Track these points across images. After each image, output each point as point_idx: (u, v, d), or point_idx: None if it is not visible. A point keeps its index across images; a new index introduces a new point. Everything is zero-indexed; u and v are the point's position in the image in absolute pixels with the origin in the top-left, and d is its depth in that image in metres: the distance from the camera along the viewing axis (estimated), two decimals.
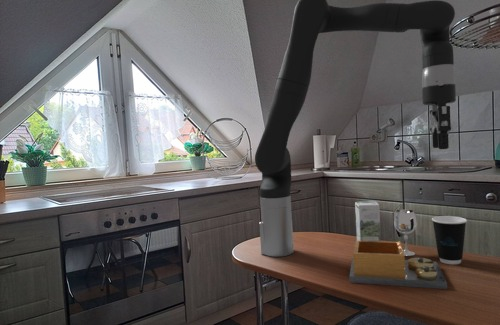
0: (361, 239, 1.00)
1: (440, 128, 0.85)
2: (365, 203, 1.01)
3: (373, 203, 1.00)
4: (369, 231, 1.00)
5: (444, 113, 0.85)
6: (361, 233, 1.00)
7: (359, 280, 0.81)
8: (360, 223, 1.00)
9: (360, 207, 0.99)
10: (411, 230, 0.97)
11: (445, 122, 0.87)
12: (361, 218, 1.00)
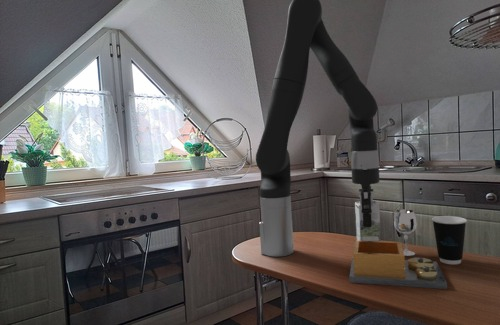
0: (361, 239, 1.00)
1: (362, 211, 0.96)
2: None
3: (373, 203, 1.00)
4: (369, 231, 1.00)
5: (366, 198, 0.96)
6: (361, 233, 1.00)
7: (359, 280, 0.81)
8: (360, 223, 1.00)
9: (360, 207, 1.00)
10: (411, 230, 0.97)
11: None
12: (361, 218, 1.00)
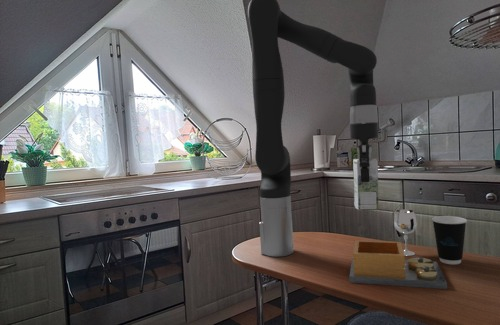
0: (359, 194, 0.99)
1: (360, 164, 0.96)
2: None
3: (371, 159, 1.00)
4: (367, 187, 0.99)
5: (364, 152, 0.95)
6: (359, 188, 0.99)
7: (359, 280, 0.81)
8: (358, 178, 0.99)
9: (358, 162, 0.99)
10: (411, 230, 0.97)
11: (367, 158, 0.98)
12: (359, 173, 0.99)
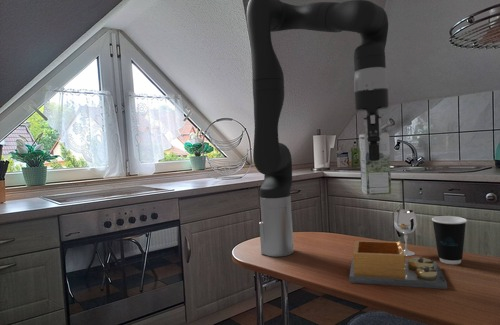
0: (367, 176, 0.83)
1: (369, 138, 0.79)
2: None
3: (381, 133, 0.83)
4: (377, 166, 0.82)
5: (373, 123, 0.78)
6: (367, 168, 0.83)
7: (359, 280, 0.81)
8: (366, 156, 0.83)
9: (366, 137, 0.82)
10: (411, 230, 0.97)
11: (376, 131, 0.81)
12: (367, 150, 0.82)
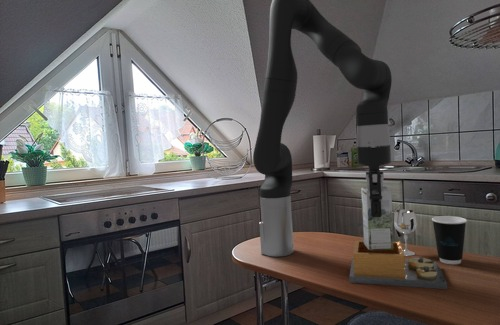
0: (369, 232, 0.83)
1: (371, 197, 0.79)
2: None
3: (383, 188, 0.83)
4: (379, 222, 0.82)
5: (375, 182, 0.79)
6: (369, 224, 0.83)
7: (359, 280, 0.81)
8: (368, 212, 0.83)
9: (368, 193, 0.82)
10: (411, 230, 0.97)
11: (378, 188, 0.81)
12: (369, 206, 0.83)
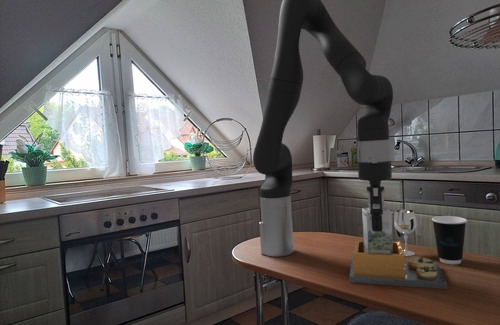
0: None
1: (371, 211, 0.79)
2: None
3: (384, 210, 0.83)
4: (379, 244, 0.82)
5: (375, 195, 0.78)
6: (369, 246, 0.83)
7: (359, 280, 0.81)
8: (368, 234, 0.83)
9: (368, 215, 0.82)
10: (411, 230, 0.97)
11: (379, 202, 0.81)
12: (369, 228, 0.83)
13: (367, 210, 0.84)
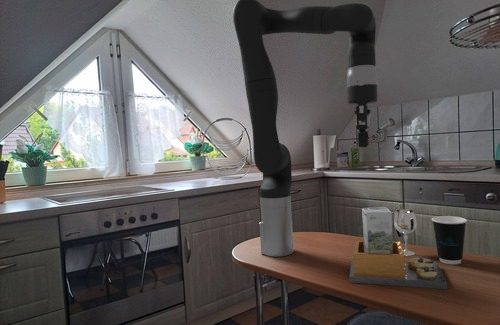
0: None
1: (357, 127, 0.88)
2: (374, 210, 0.84)
3: (384, 210, 0.83)
4: (379, 244, 0.82)
5: (361, 112, 0.88)
6: (369, 246, 0.83)
7: (359, 280, 0.81)
8: (368, 234, 0.83)
9: (368, 215, 0.82)
10: (411, 230, 0.97)
11: (365, 121, 0.90)
12: (369, 228, 0.83)
13: (367, 210, 0.84)
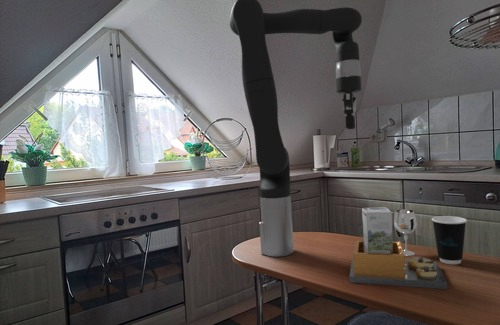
0: None
1: (345, 111, 1.05)
2: (374, 210, 0.84)
3: (384, 210, 0.83)
4: (379, 244, 0.82)
5: (348, 99, 1.05)
6: (369, 246, 0.83)
7: (359, 280, 0.81)
8: (368, 234, 0.83)
9: (368, 215, 0.82)
10: (411, 230, 0.97)
11: (351, 106, 1.07)
12: (369, 228, 0.83)
13: (367, 210, 0.84)
